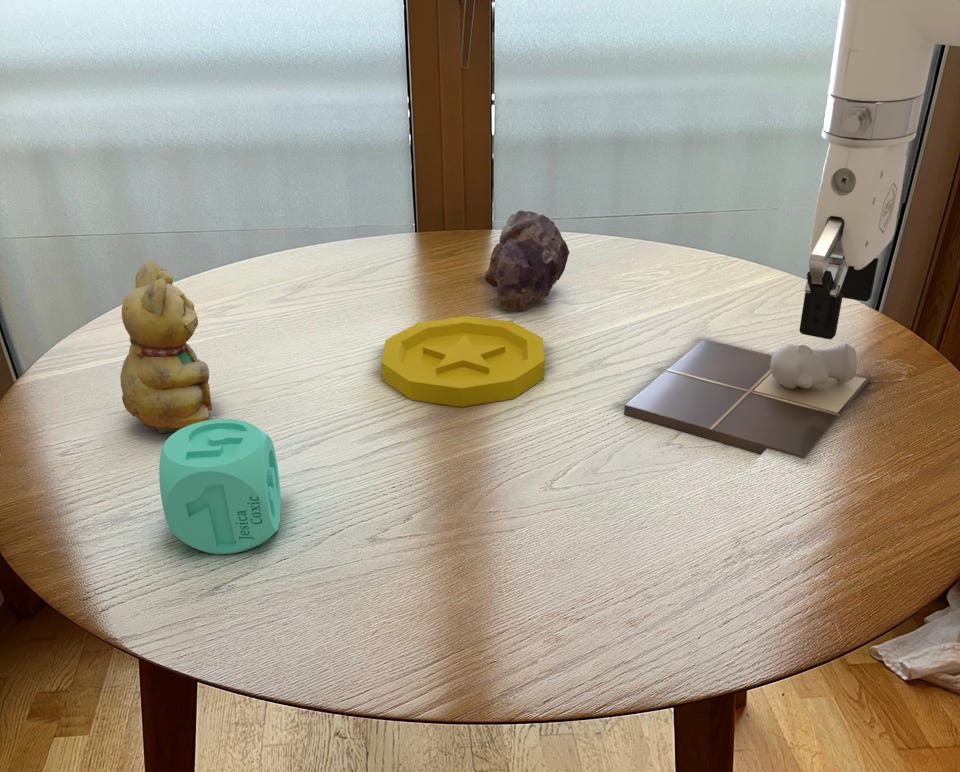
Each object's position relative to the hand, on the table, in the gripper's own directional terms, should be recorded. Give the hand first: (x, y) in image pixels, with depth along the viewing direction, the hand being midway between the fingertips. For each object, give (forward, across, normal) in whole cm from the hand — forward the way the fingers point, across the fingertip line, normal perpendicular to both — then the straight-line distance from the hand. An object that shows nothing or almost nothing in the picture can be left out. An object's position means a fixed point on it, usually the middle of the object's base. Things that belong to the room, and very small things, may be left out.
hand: (835, 316), depth 93 cm
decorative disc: (+7, -14, +34) cm, 37 cm away
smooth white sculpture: (+7, -1, +1) cm, 7 cm away
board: (+8, -5, +6) cm, 11 cm away
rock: (+7, +6, +39) cm, 40 cm away
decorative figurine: (+6, -39, +51) cm, 64 cm away
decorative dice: (+6, -49, +33) cm, 59 cm away
